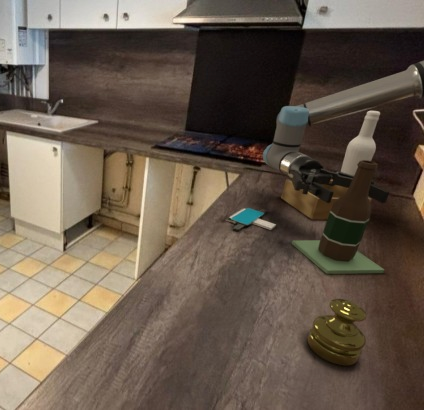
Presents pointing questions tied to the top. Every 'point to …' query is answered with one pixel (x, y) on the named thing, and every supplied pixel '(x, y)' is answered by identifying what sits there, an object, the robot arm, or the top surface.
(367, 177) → the beer bottle
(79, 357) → the top surface
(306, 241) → the mat
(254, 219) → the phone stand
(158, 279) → the top surface
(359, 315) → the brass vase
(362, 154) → the bottle
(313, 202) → the open wooden box
